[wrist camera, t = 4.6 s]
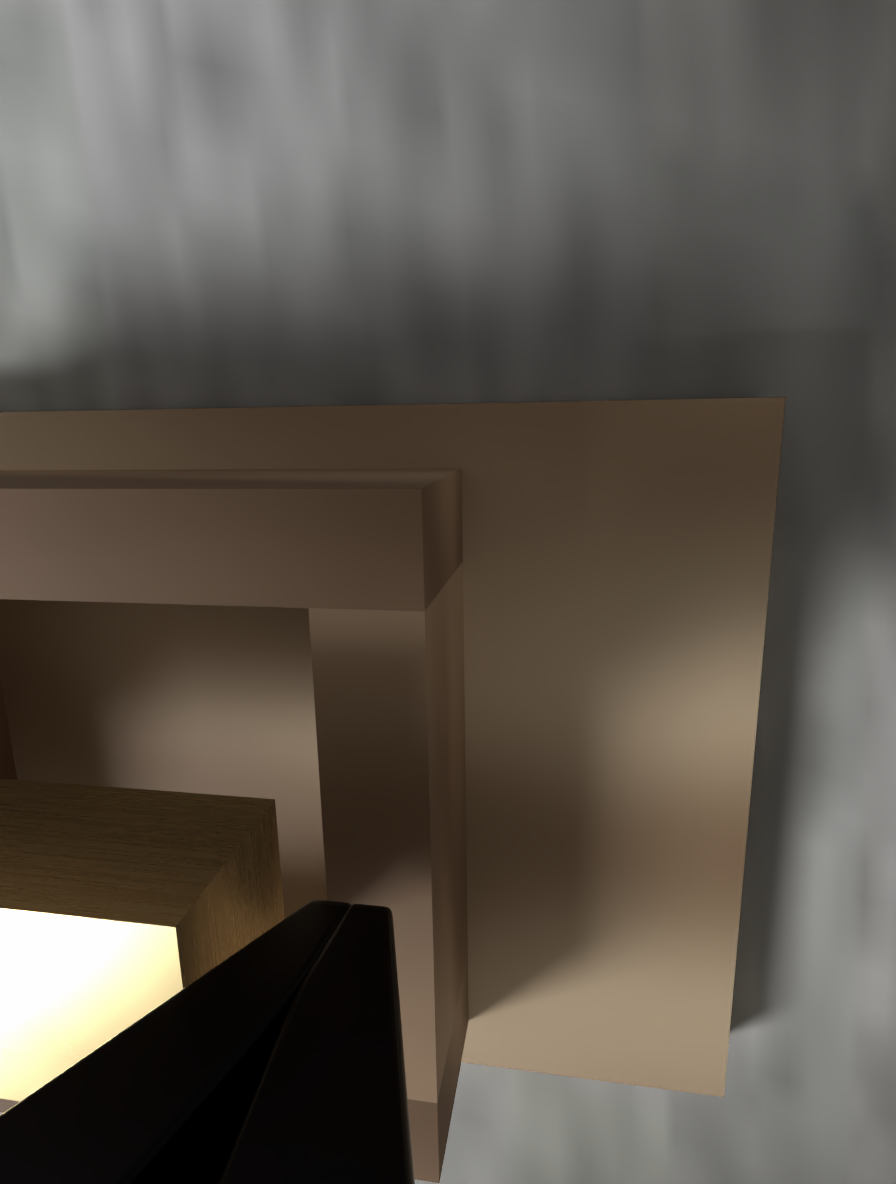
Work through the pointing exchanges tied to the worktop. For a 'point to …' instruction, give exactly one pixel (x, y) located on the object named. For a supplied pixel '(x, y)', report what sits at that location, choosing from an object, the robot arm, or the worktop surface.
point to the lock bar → (118, 910)
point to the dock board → (429, 689)
